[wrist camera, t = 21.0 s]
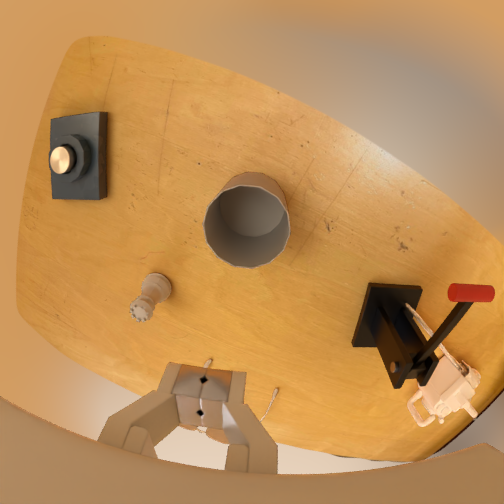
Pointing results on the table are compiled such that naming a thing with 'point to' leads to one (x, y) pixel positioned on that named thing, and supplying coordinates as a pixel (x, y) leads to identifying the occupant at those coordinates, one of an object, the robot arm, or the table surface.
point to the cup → (248, 221)
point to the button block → (81, 156)
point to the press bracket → (393, 330)
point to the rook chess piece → (150, 296)
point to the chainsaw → (445, 386)
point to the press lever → (450, 320)
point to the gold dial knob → (63, 159)
